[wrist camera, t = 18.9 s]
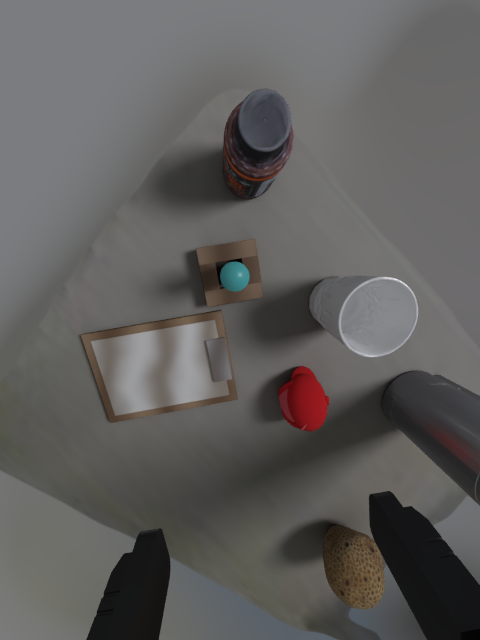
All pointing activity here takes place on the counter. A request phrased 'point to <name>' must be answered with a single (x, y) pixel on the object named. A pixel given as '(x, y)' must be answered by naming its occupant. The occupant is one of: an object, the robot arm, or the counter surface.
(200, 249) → the marker stand
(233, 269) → the marker
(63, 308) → the counter surface
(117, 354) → the clipboard
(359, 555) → the natural sponge
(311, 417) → the cap
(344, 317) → the white cup
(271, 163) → the supplement bottle
